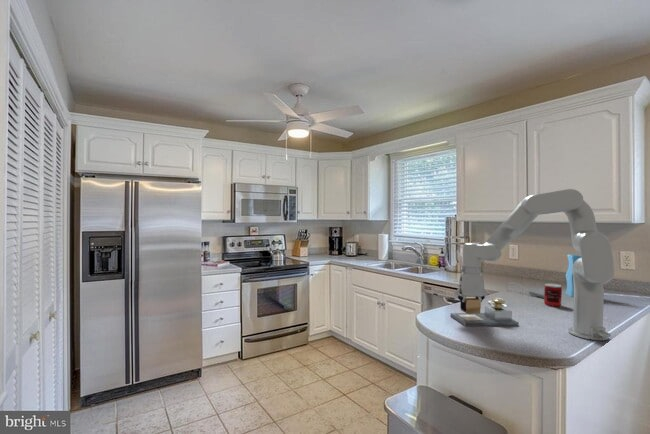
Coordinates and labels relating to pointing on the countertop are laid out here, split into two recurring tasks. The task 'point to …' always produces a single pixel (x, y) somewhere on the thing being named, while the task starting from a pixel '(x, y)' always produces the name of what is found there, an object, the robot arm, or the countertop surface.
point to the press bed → (487, 318)
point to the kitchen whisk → (530, 291)
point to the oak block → (472, 305)
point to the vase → (571, 274)
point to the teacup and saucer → (493, 302)
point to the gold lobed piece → (498, 303)
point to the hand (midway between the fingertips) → (470, 309)
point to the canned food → (552, 295)
